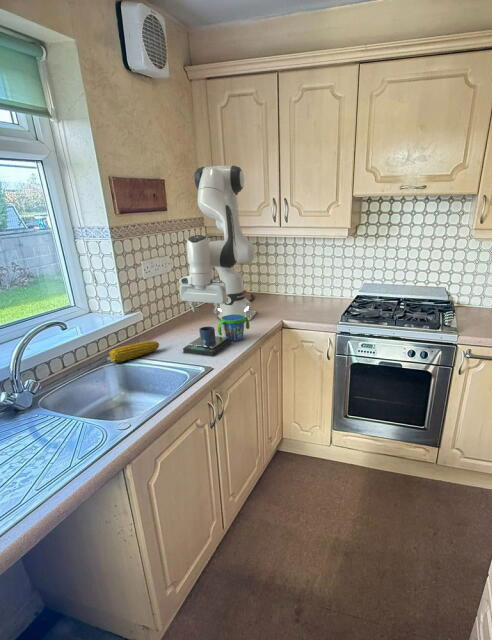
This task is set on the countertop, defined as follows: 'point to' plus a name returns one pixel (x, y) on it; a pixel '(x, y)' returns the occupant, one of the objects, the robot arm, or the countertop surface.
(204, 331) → the dark blue faceted pot
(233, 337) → the snack cup
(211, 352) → the scale
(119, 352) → the food
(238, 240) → the robot arm
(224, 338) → the scale pan
